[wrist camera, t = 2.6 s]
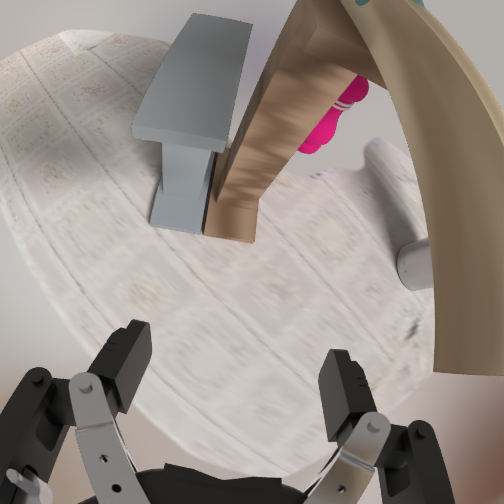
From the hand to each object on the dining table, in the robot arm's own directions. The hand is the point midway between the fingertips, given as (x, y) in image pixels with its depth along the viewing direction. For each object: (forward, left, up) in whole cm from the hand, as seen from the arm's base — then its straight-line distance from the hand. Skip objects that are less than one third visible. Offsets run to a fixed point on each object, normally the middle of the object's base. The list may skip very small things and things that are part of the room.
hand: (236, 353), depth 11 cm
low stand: (+5, -19, -25) cm, 32 cm away
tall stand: (-3, -19, -25) cm, 31 cm away
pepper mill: (-14, -33, -25) cm, 44 cm away
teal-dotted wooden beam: (-4, -13, +7) cm, 15 cm away
